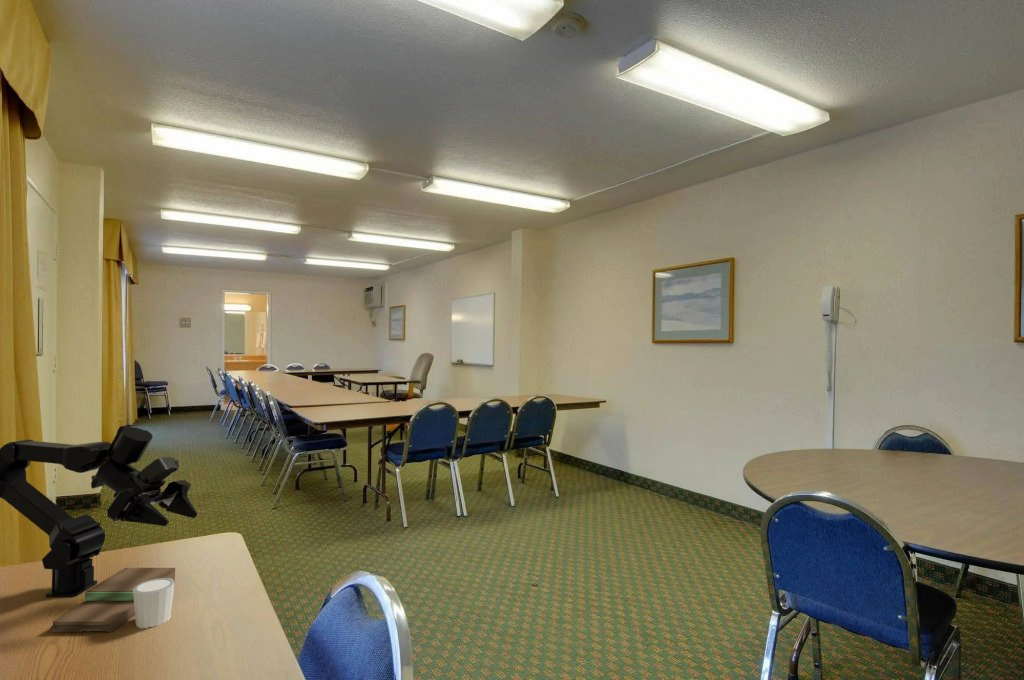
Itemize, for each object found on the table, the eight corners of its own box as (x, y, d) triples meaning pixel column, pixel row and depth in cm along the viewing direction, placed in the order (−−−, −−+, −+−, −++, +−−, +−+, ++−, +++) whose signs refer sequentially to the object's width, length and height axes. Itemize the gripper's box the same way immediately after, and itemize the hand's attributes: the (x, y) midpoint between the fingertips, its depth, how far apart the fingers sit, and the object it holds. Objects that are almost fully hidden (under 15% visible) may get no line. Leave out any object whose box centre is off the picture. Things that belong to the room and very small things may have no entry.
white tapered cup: (182, 615, 104) (183, 580, 104) (148, 633, 98) (149, 595, 98) (157, 609, 106) (158, 575, 106) (123, 626, 100) (123, 589, 100)
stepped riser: (50, 633, 97) (51, 611, 97) (124, 585, 116) (125, 567, 116) (110, 633, 97) (111, 611, 97) (174, 585, 117) (175, 567, 117)
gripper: (114, 450, 105) (174, 492, 103) (177, 446, 123) (229, 482, 121) (80, 499, 103) (141, 542, 101) (149, 487, 122) (201, 524, 120)
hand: (182, 519), depth 111 cm, fingers open, 9 cm apart
